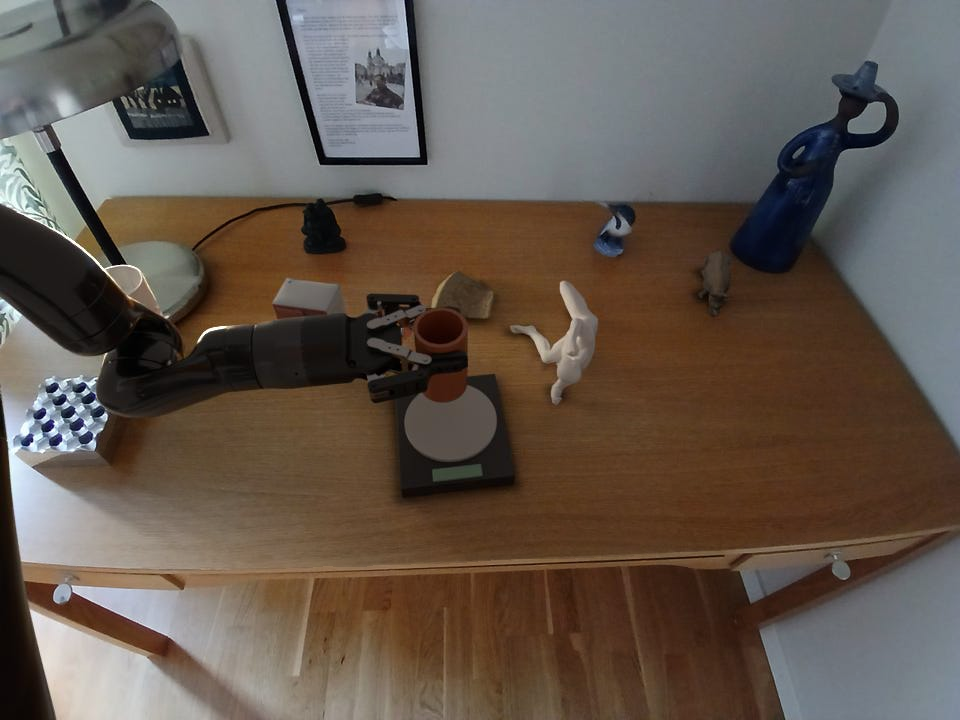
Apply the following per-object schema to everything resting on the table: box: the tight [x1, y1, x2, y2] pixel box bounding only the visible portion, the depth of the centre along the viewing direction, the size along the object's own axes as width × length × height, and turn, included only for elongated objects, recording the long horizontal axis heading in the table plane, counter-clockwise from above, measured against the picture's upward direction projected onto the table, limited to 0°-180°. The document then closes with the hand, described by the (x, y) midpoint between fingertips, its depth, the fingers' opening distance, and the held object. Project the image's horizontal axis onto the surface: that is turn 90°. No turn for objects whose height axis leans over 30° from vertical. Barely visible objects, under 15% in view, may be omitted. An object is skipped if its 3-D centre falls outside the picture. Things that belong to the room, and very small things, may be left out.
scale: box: [395, 373, 516, 499], centre depth 73 cm, size 16×14×3 cm
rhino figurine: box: [698, 250, 731, 318], centre depth 90 cm, size 4×14×6 cm, turn 165°
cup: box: [413, 307, 469, 403], centre depth 63 cm, size 6×6×10 cm
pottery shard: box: [430, 270, 498, 320], centre depth 89 cm, size 11×4×10 cm
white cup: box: [103, 264, 164, 316], centre depth 82 cm, size 8×8×10 cm
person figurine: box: [509, 280, 599, 406], centre depth 80 cm, size 13×13×18 cm
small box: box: [271, 277, 347, 319], centre depth 80 cm, size 8×6×10 cm
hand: (463, 336), depth 61 cm, fingers closed on cup, 5 cm apart
